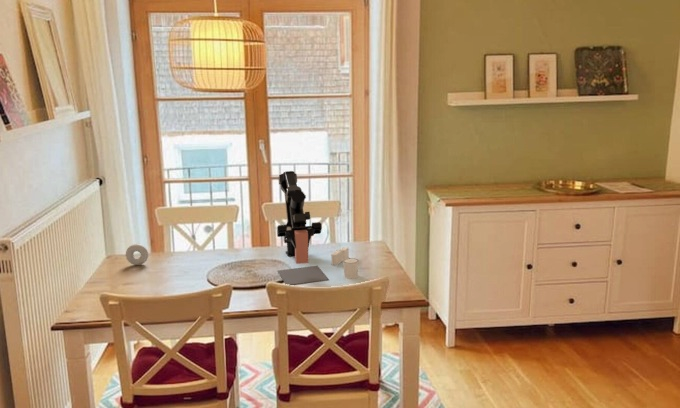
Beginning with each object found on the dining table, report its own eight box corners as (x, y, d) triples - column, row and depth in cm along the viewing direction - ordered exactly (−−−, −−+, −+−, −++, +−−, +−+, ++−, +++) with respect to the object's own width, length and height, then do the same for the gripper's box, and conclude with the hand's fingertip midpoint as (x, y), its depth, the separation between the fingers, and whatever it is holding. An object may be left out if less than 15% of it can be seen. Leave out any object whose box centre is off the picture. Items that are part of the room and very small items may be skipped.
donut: (150, 263, 268) (148, 242, 266) (148, 265, 265) (146, 244, 262) (127, 264, 267) (125, 243, 265) (125, 266, 264) (123, 245, 261)
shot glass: (345, 280, 242) (345, 264, 240) (341, 274, 248) (340, 258, 247) (361, 278, 244) (361, 262, 242) (356, 272, 250) (356, 257, 249)
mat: (277, 271, 254) (277, 270, 254) (317, 266, 259) (317, 265, 259) (286, 285, 237) (286, 284, 237) (329, 280, 242) (328, 279, 242)
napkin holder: (332, 268, 257) (332, 256, 256) (321, 261, 267) (321, 249, 266) (362, 262, 264) (362, 250, 263) (350, 255, 274) (349, 244, 272)
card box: (295, 259, 249) (294, 230, 245) (306, 259, 250) (306, 229, 246) (296, 263, 244) (295, 233, 241) (308, 262, 245) (307, 233, 242)
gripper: (276, 206, 243) (280, 239, 235) (320, 203, 247) (326, 236, 239) (275, 220, 252) (279, 252, 245) (318, 217, 256) (323, 248, 248)
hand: (301, 247), depth 244 cm, fingers closed on card box, 5 cm apart
